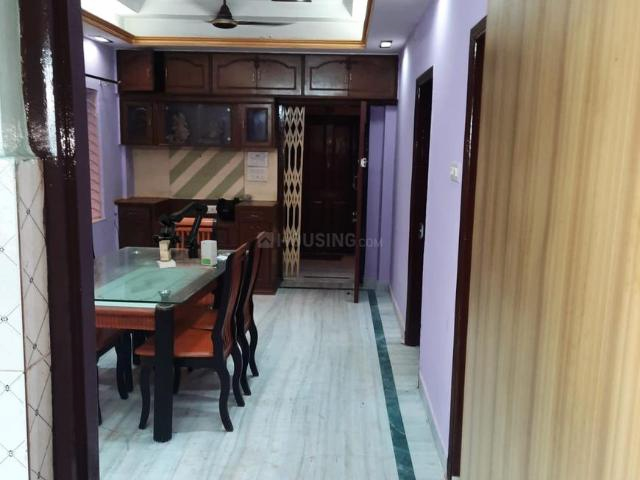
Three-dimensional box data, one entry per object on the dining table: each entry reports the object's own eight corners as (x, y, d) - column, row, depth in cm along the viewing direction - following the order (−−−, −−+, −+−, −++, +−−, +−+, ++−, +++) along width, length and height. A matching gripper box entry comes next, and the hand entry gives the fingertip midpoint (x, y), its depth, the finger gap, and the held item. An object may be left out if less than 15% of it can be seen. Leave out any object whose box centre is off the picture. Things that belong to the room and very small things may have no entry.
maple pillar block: (164, 258, 362) (162, 240, 360) (171, 258, 362) (169, 240, 359) (160, 260, 357) (159, 241, 355) (168, 260, 357) (166, 241, 355)
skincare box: (201, 264, 360) (200, 241, 358) (208, 262, 366) (206, 239, 363) (211, 265, 356) (210, 242, 354) (218, 263, 362) (216, 240, 360)
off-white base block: (172, 263, 367) (172, 259, 366) (175, 266, 358) (175, 261, 357) (157, 265, 362) (156, 261, 362) (159, 268, 354) (159, 263, 353)
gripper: (152, 223, 361) (146, 242, 352) (179, 222, 358) (173, 242, 349) (158, 233, 370) (152, 252, 361) (184, 232, 367) (179, 252, 358)
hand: (164, 249), depth 357 cm, fingers closed on maple pillar block, 5 cm apart
